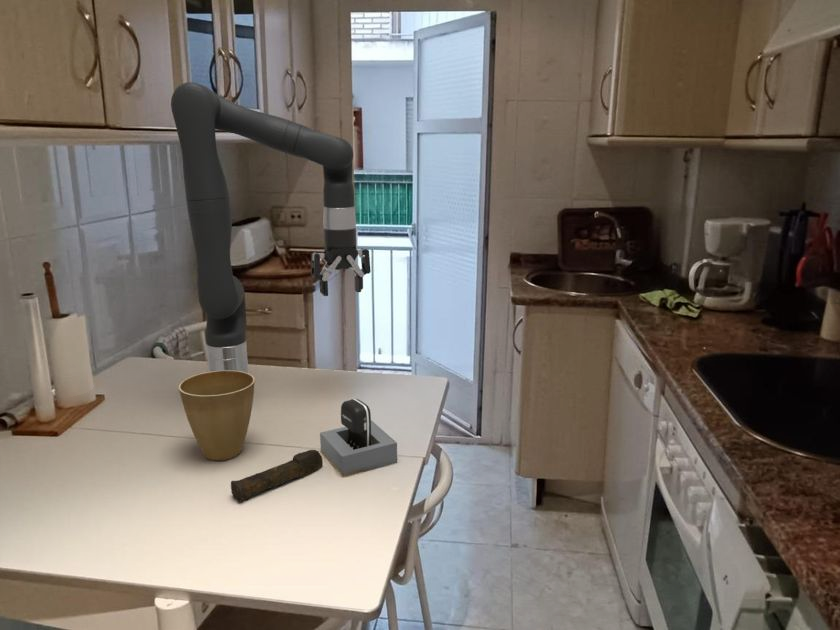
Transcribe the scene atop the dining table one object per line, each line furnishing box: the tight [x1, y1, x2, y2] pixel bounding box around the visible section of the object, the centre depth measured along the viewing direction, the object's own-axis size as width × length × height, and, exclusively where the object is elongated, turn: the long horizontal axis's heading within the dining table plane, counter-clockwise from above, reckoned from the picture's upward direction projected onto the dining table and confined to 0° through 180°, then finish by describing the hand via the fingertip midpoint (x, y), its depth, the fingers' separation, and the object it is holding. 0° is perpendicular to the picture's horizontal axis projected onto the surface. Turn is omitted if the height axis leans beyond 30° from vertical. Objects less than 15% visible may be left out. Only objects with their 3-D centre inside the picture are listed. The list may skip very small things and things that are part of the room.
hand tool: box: [230, 449, 323, 503], centre depth 121 cm, size 19×4×5 cm, turn 129°
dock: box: [319, 420, 398, 478], centre depth 131 cm, size 12×12×4 cm
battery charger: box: [340, 398, 372, 450], centre depth 130 cm, size 7×4×11 cm, turn 36°
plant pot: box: [178, 370, 256, 461], centre depth 132 cm, size 15×15×16 cm
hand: (342, 293), depth 152 cm, fingers open, 8 cm apart
